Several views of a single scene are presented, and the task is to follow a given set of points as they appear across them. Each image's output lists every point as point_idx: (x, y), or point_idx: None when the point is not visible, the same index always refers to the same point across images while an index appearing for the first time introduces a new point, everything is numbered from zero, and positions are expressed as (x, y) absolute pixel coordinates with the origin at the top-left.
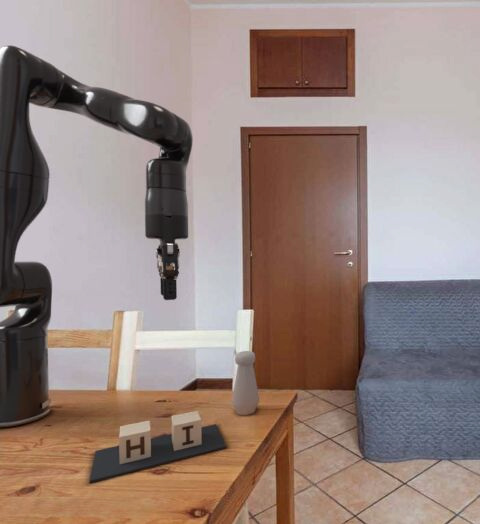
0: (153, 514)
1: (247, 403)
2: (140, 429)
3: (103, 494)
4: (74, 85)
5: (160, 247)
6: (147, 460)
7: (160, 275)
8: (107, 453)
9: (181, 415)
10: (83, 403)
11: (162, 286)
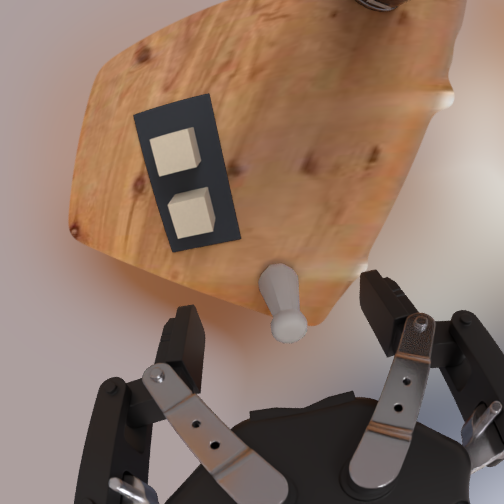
0: (75, 196)
1: (259, 286)
2: (165, 161)
3: (110, 139)
4: None
5: (424, 484)
6: None
7: (405, 324)
8: (195, 111)
9: (201, 210)
10: (405, 48)
11: (376, 297)
